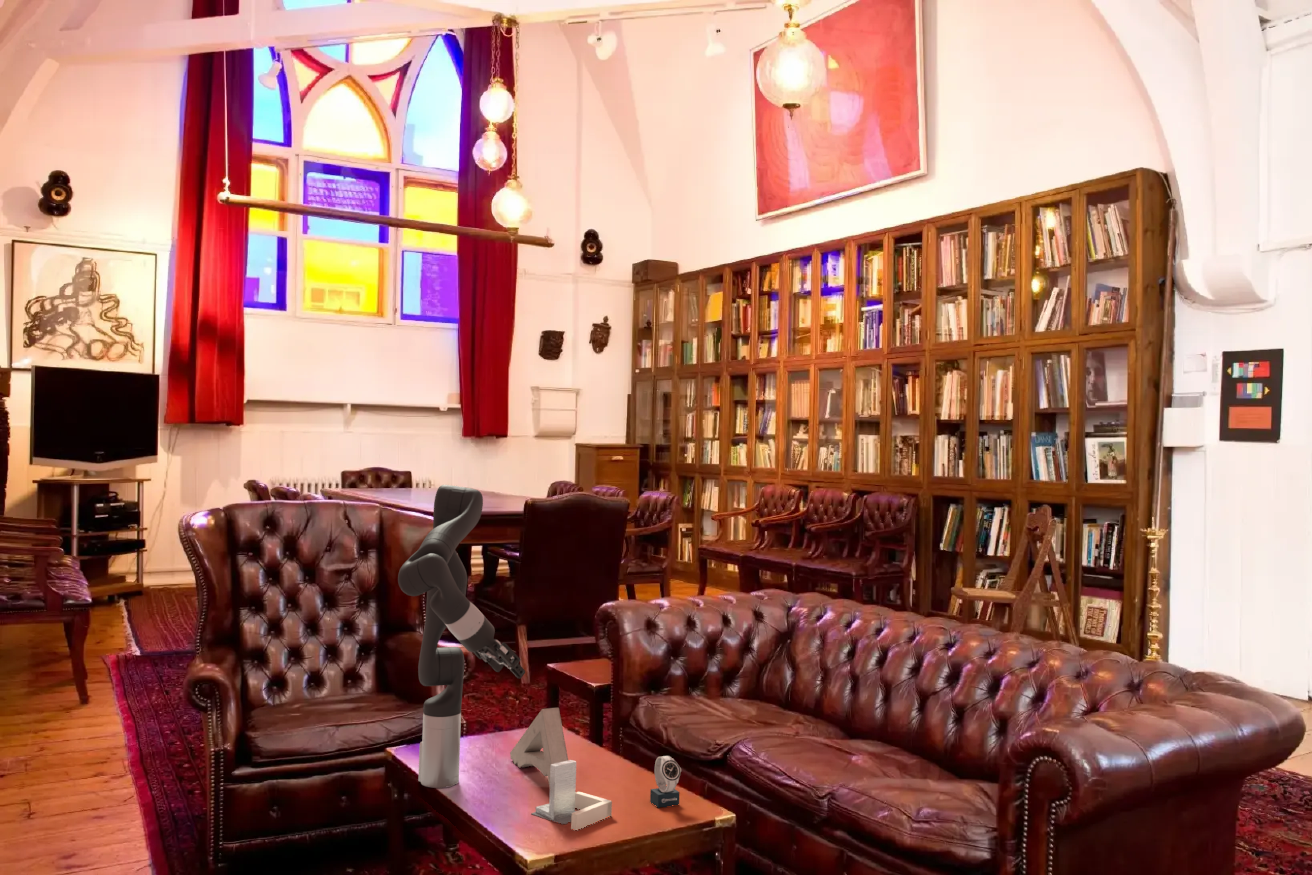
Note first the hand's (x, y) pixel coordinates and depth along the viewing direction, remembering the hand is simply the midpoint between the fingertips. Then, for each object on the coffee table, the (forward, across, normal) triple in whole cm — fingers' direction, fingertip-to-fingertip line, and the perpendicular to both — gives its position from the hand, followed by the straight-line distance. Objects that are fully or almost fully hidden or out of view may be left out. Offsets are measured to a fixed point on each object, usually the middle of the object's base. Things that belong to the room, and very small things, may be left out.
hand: (511, 672), depth 226 cm
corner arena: (+32, -10, +14) cm, 36 cm away
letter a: (+39, +18, +7) cm, 44 cm away
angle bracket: (+30, -5, +16) cm, 34 cm away
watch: (+48, -15, -1) cm, 50 cm away
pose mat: (+31, -6, +16) cm, 35 cm away
